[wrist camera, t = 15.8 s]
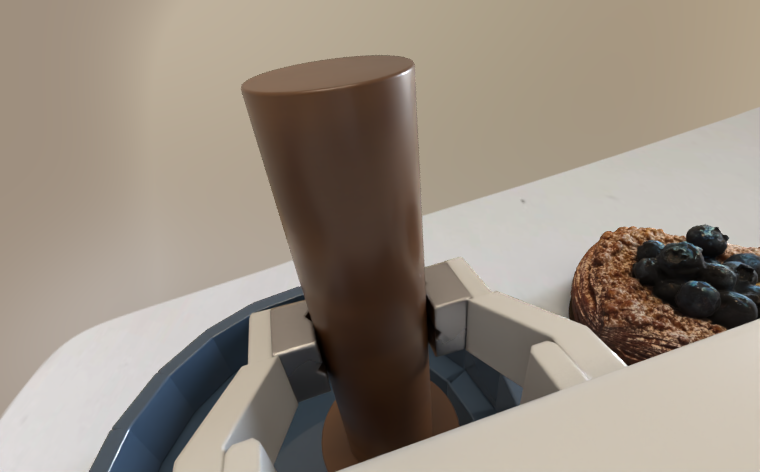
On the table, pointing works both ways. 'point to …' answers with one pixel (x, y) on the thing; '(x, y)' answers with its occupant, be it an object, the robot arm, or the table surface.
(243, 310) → the bowl
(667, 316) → the pastry
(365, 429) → the pestle
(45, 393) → the table surface
